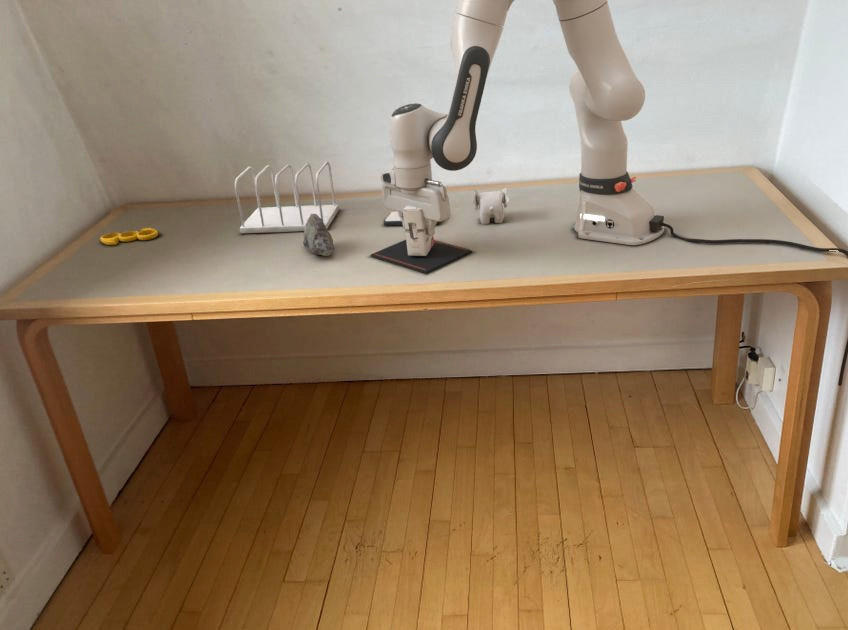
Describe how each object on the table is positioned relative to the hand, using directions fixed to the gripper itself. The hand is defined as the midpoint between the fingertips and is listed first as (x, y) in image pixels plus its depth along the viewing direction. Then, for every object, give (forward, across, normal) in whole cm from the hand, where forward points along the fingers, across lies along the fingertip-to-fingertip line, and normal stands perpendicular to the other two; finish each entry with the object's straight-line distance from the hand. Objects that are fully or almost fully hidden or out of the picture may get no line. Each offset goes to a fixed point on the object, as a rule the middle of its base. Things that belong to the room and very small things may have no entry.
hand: (418, 231), depth 190 cm
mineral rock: (+6, +24, +14) cm, 28 cm away
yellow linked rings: (+6, +82, +38) cm, 91 cm away
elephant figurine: (+6, +2, -29) cm, 30 cm away
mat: (+6, 0, 0) cm, 6 cm away
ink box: (+5, 0, 0) cm, 5 cm away
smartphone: (+6, +20, -17) cm, 27 cm away
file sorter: (+6, +51, +3) cm, 51 cm away
